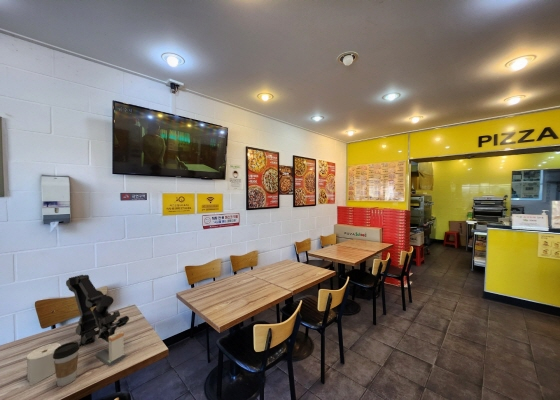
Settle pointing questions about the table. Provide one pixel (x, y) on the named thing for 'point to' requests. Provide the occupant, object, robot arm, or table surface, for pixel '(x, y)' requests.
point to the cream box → (116, 345)
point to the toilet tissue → (41, 363)
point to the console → (104, 357)
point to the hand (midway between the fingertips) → (112, 344)
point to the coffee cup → (66, 362)
